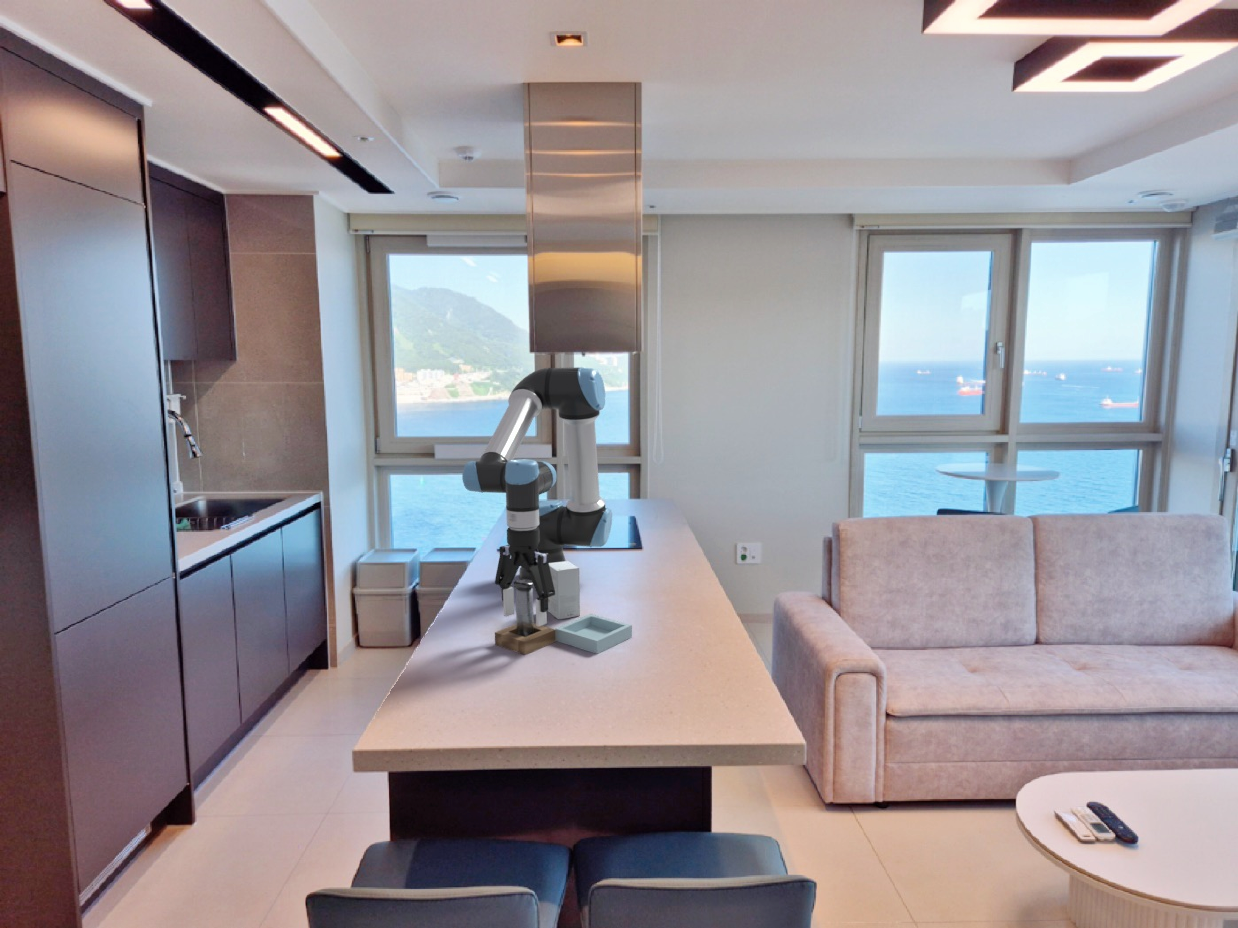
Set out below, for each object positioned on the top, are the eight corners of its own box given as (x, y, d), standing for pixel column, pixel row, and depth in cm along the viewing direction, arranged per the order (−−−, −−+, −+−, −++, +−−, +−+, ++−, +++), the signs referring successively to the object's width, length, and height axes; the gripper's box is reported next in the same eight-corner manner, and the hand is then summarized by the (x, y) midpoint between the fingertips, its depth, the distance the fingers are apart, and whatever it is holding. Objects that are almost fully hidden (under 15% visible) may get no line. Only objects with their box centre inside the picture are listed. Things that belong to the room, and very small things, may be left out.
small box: (580, 616, 196) (580, 567, 194) (557, 620, 193) (557, 570, 191) (568, 607, 203) (568, 560, 201) (546, 610, 200) (545, 563, 199)
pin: (510, 643, 177) (509, 582, 175) (525, 637, 181) (524, 578, 179) (525, 648, 174) (524, 586, 172) (539, 642, 178) (538, 581, 176)
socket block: (495, 644, 177) (494, 632, 176) (525, 632, 184) (525, 620, 184) (525, 654, 171) (525, 642, 170) (555, 641, 178) (555, 629, 178)
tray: (555, 640, 179) (555, 628, 179) (590, 625, 189) (590, 613, 189) (597, 653, 171) (597, 641, 171) (631, 637, 181) (631, 625, 181)
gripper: (477, 523, 178) (480, 613, 181) (547, 537, 164) (549, 635, 167) (501, 517, 183) (503, 605, 187) (570, 530, 170) (571, 625, 173)
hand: (524, 619), depth 177 cm, fingers open, 10 cm apart
